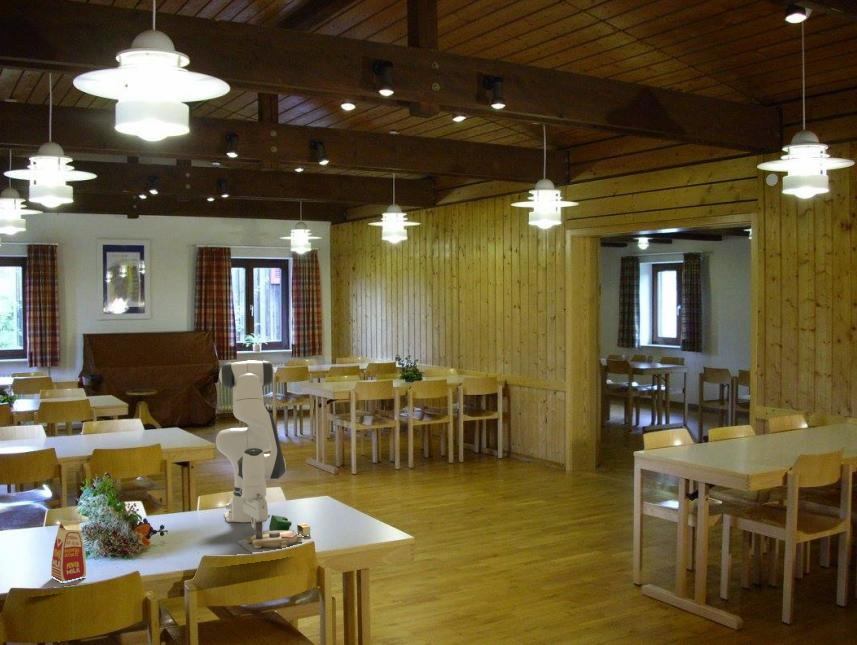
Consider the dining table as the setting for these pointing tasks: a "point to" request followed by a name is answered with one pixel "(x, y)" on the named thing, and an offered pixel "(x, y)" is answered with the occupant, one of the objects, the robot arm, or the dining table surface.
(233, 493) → the robot arm
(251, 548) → the base plate
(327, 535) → the dining table surface
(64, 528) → the milk carton
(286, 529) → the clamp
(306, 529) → the beige small block
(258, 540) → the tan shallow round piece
